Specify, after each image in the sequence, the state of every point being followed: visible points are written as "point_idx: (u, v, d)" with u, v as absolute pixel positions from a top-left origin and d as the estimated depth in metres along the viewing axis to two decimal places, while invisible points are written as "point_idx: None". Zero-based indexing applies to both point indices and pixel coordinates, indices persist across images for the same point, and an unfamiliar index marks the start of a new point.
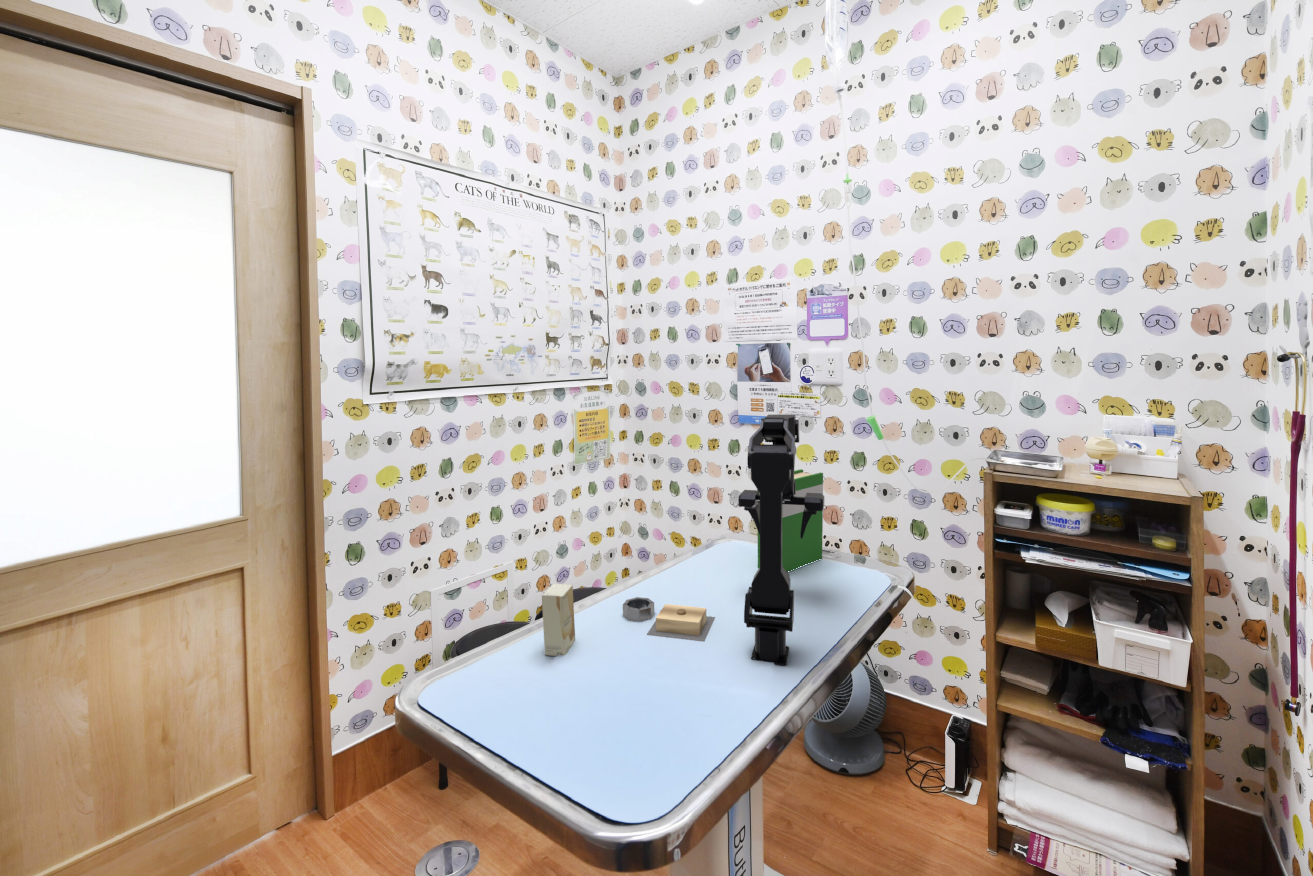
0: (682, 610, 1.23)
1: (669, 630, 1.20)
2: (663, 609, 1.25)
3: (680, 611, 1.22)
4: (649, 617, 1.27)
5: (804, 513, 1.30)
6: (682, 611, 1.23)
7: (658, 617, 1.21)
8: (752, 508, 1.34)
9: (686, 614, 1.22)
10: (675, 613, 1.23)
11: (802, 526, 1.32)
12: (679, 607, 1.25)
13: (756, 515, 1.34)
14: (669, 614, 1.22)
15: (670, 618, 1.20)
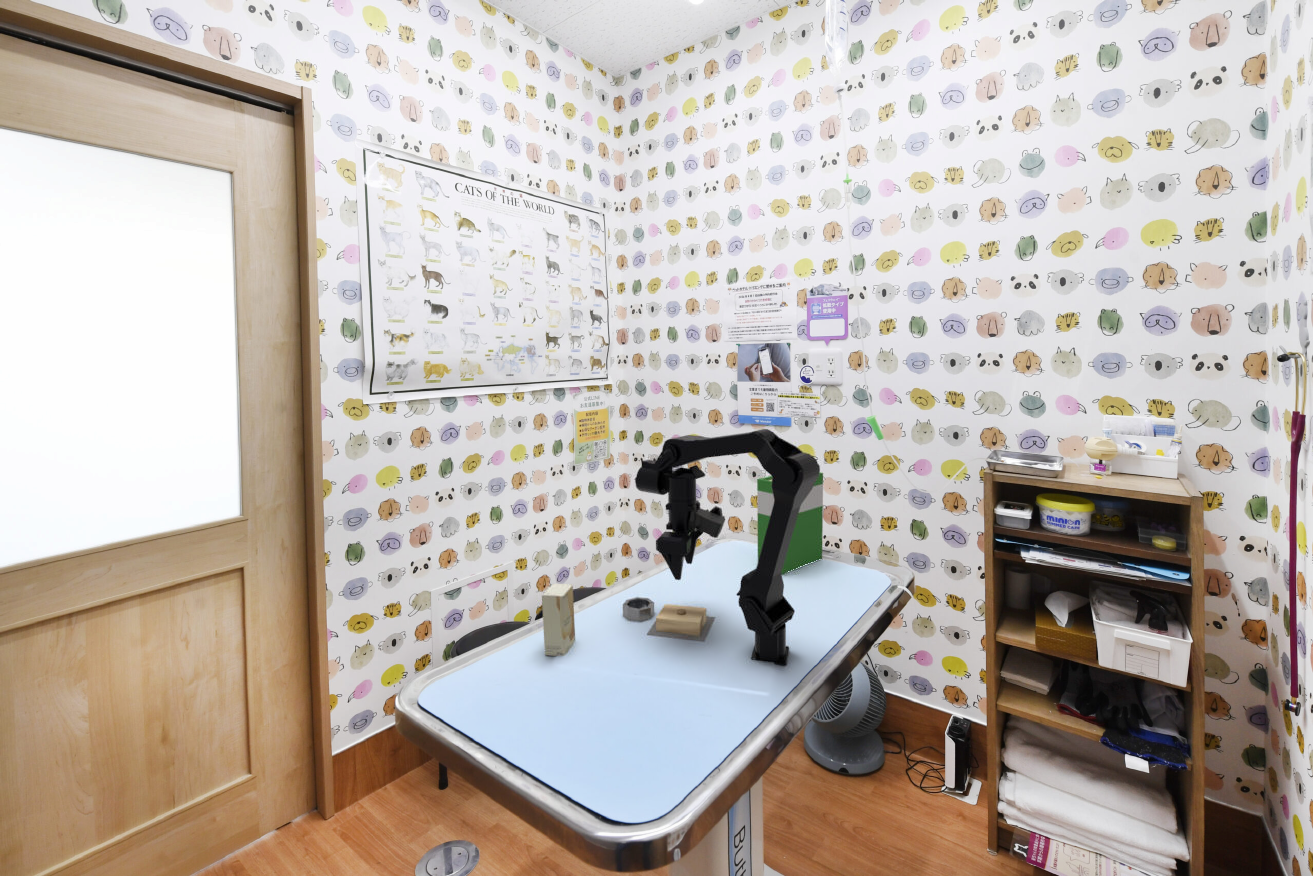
0: (682, 610, 1.23)
1: (669, 630, 1.20)
2: (663, 609, 1.25)
3: (680, 611, 1.22)
4: (649, 617, 1.27)
5: None
6: (682, 611, 1.23)
7: (658, 617, 1.21)
8: None
9: (686, 614, 1.22)
10: (675, 613, 1.23)
11: None
12: (679, 607, 1.25)
13: None
14: (669, 614, 1.22)
15: (670, 618, 1.20)
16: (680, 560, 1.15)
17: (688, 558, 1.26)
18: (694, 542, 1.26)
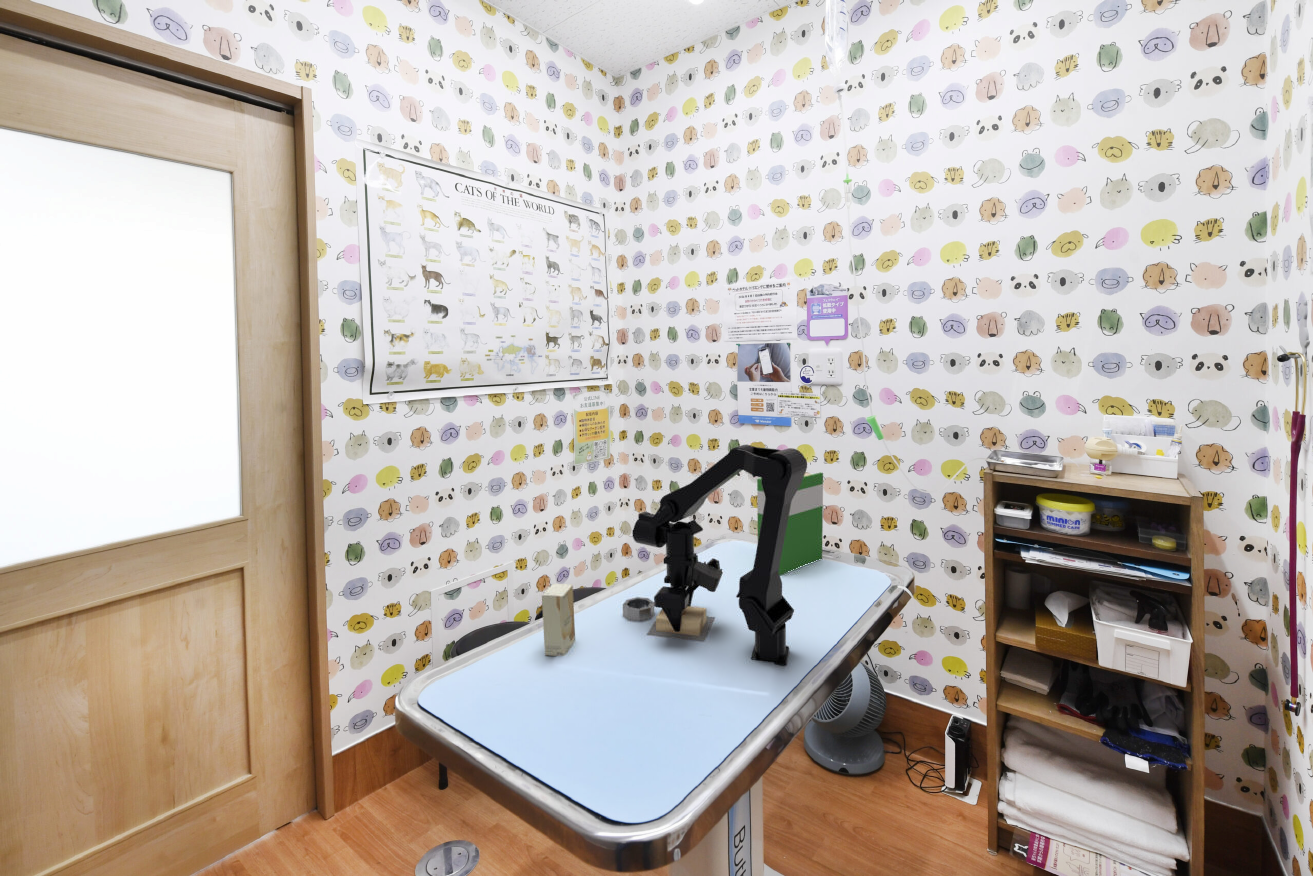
0: None
1: (669, 630, 1.20)
2: None
3: None
4: (649, 617, 1.27)
5: None
6: None
7: (658, 617, 1.21)
8: None
9: (686, 614, 1.22)
10: None
11: None
12: None
13: None
14: None
15: None
16: (679, 613, 1.17)
17: None
18: (691, 594, 1.26)
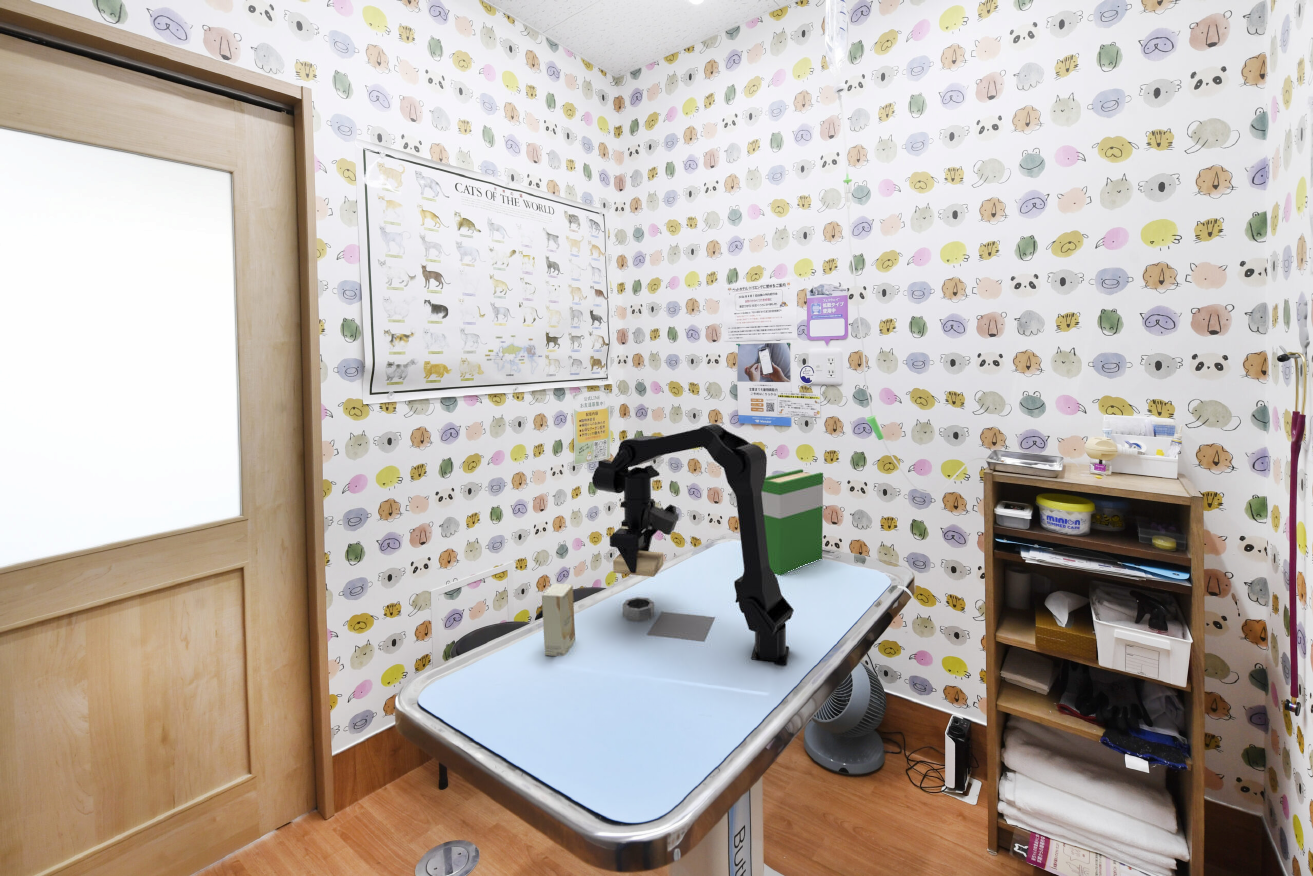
0: (639, 553, 1.27)
1: (625, 572, 1.24)
2: None
3: None
4: (649, 617, 1.27)
5: None
6: (639, 554, 1.27)
7: (615, 559, 1.25)
8: None
9: (643, 557, 1.26)
10: None
11: None
12: None
13: None
14: None
15: None
16: (635, 554, 1.21)
17: None
18: (649, 540, 1.30)
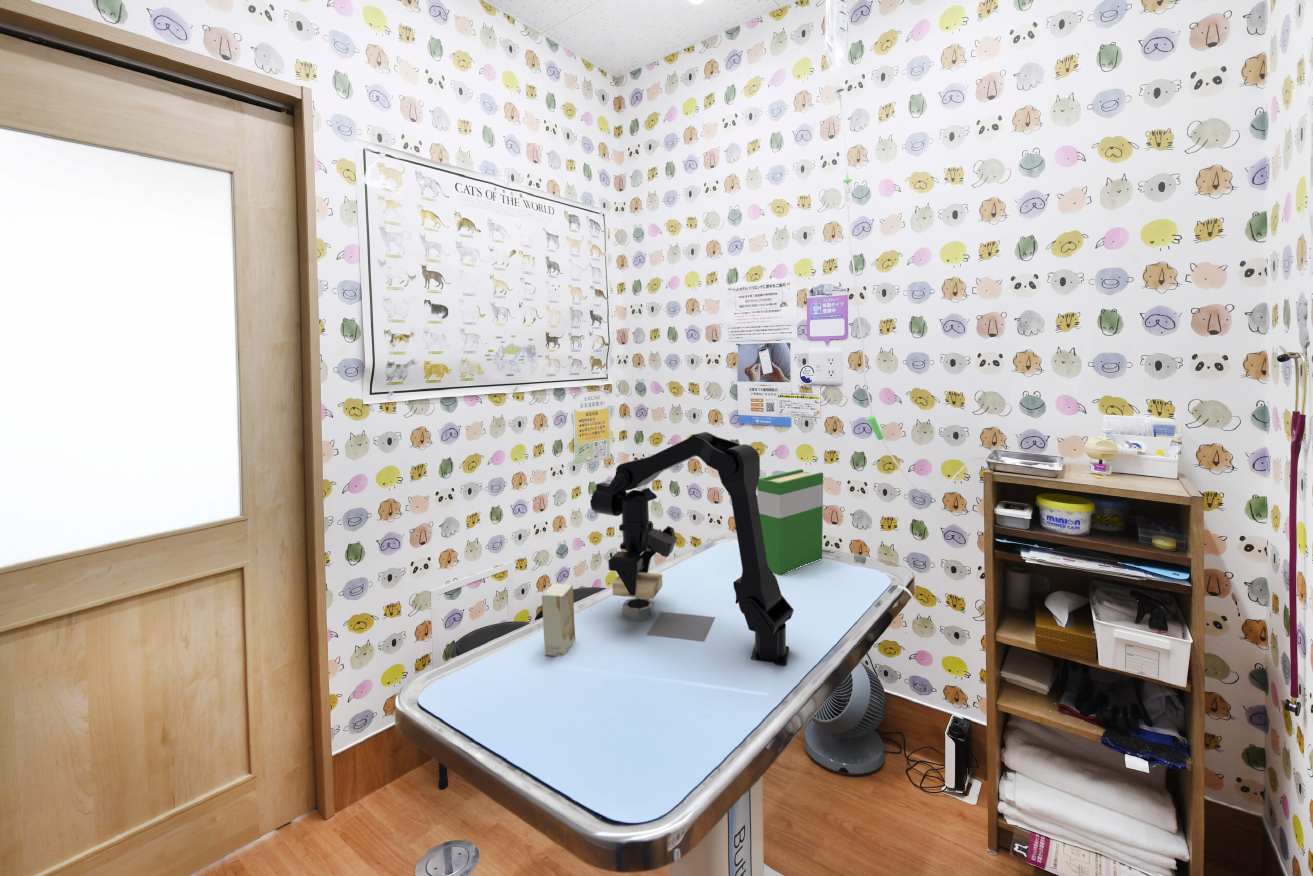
0: (638, 575, 1.28)
1: (625, 594, 1.25)
2: None
3: None
4: (649, 617, 1.27)
5: None
6: (638, 576, 1.28)
7: (614, 582, 1.26)
8: None
9: (642, 579, 1.27)
10: None
11: None
12: None
13: None
14: None
15: None
16: (634, 577, 1.22)
17: None
18: (648, 561, 1.31)
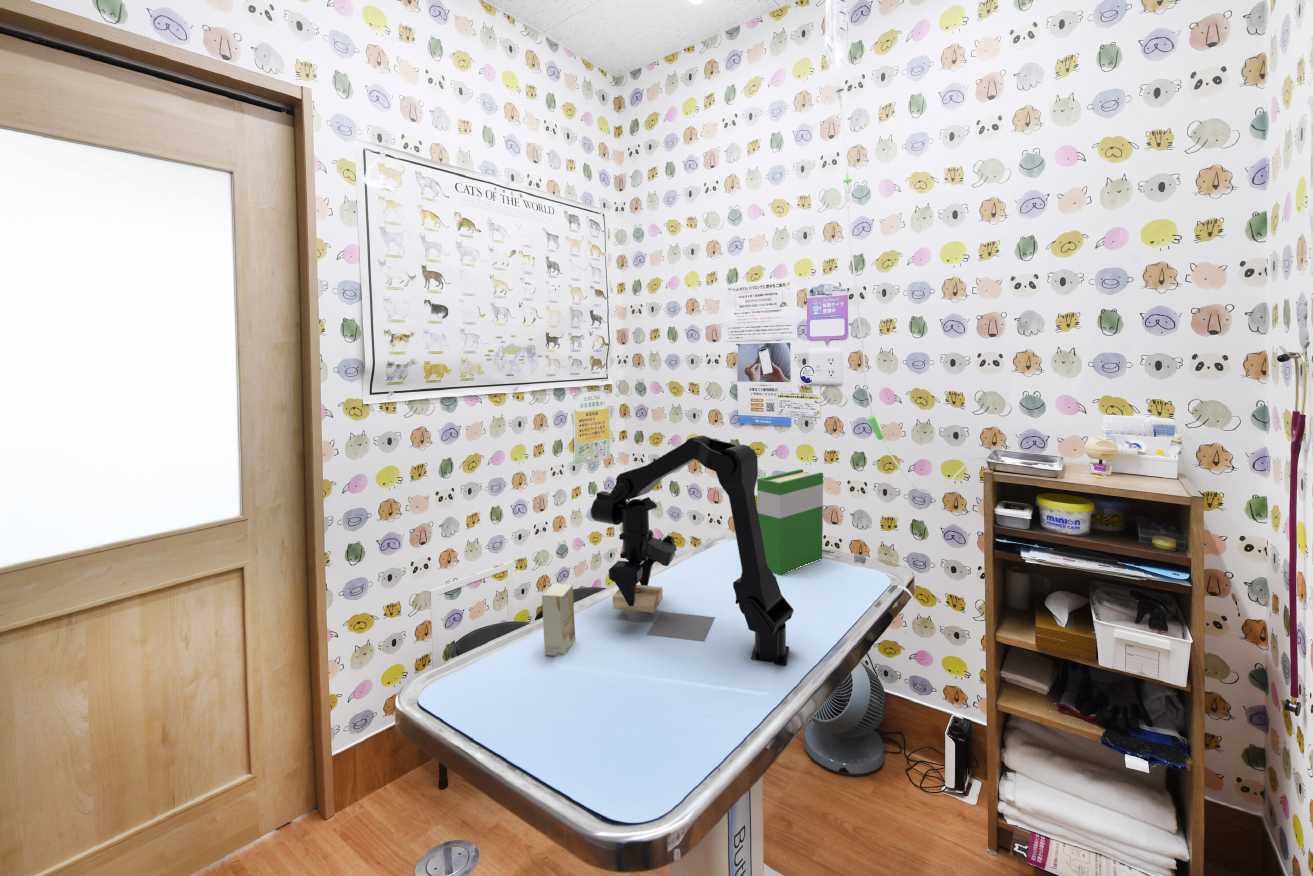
0: (638, 589, 1.28)
1: (625, 607, 1.26)
2: None
3: (637, 589, 1.28)
4: (649, 617, 1.27)
5: None
6: (638, 589, 1.28)
7: (615, 595, 1.26)
8: None
9: (642, 592, 1.27)
10: None
11: None
12: (636, 586, 1.31)
13: None
14: None
15: None
16: (632, 588, 1.22)
17: (644, 584, 1.32)
18: (649, 569, 1.32)
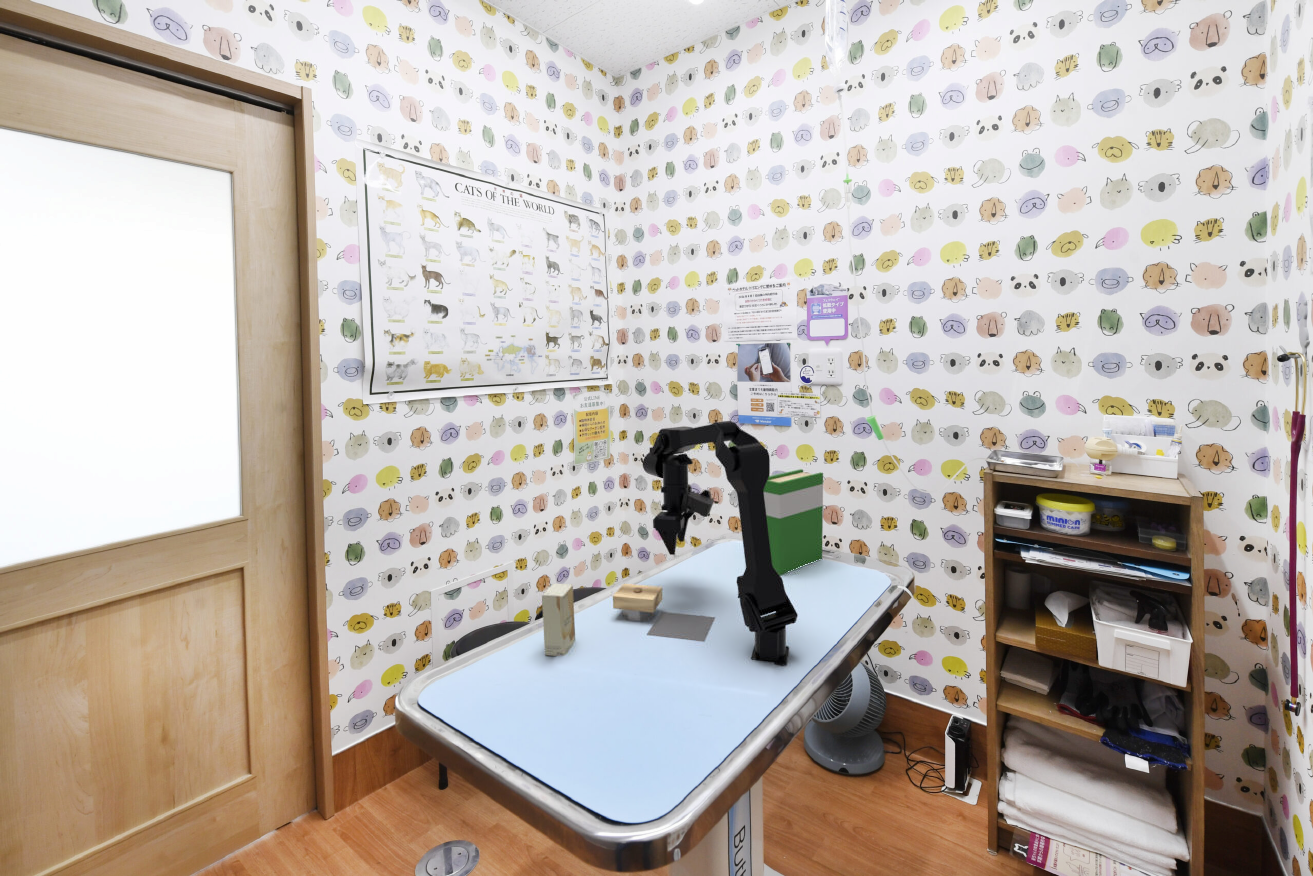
0: (638, 589, 1.28)
1: (625, 607, 1.26)
2: (621, 588, 1.30)
3: (637, 589, 1.28)
4: (649, 617, 1.27)
5: None
6: (638, 589, 1.28)
7: (615, 595, 1.26)
8: None
9: (642, 592, 1.27)
10: (632, 591, 1.28)
11: None
12: (636, 586, 1.31)
13: None
14: (625, 592, 1.28)
15: (626, 596, 1.26)
16: (674, 537, 1.30)
17: (681, 537, 1.41)
18: (686, 522, 1.40)
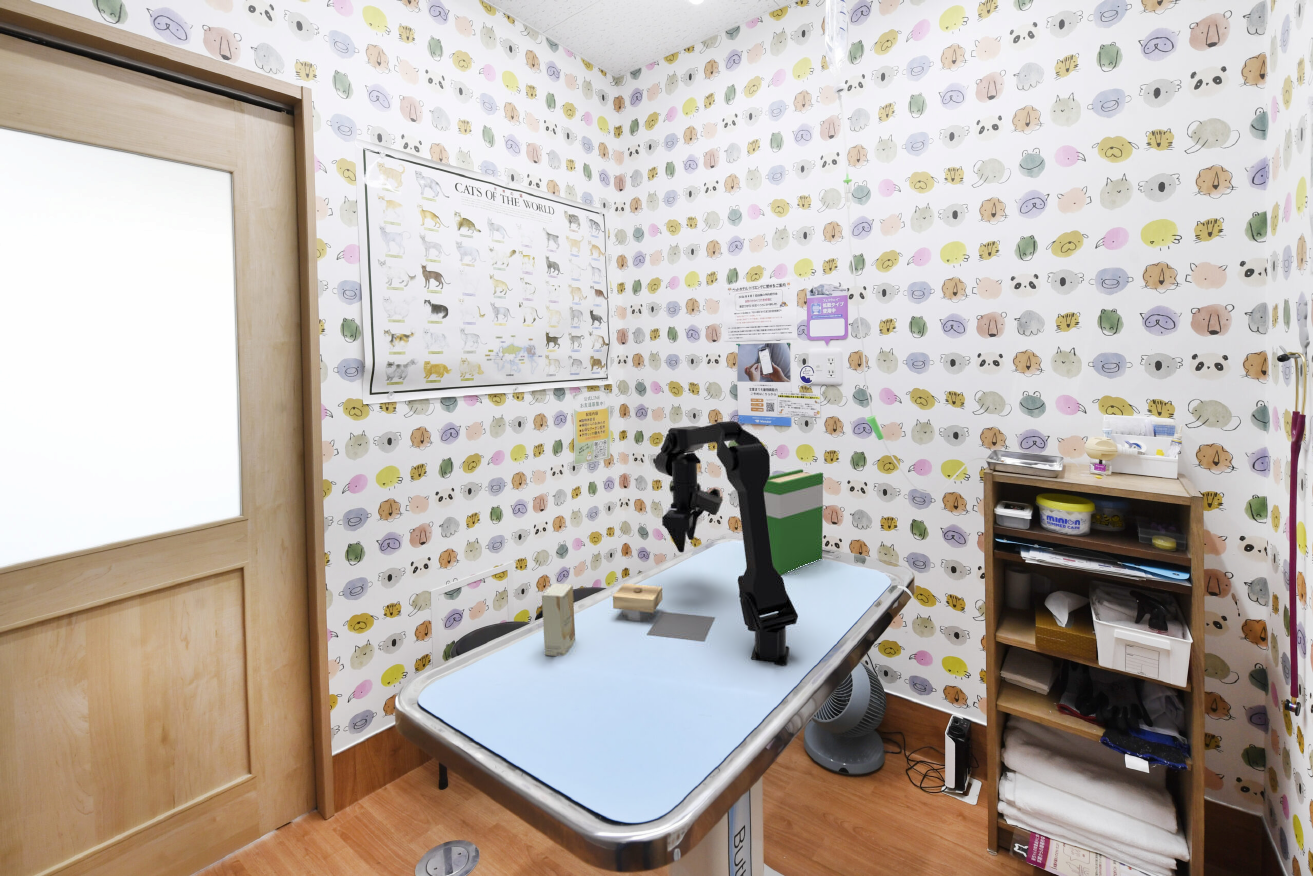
0: (638, 589, 1.28)
1: (625, 607, 1.26)
2: (621, 588, 1.30)
3: (637, 589, 1.28)
4: (649, 617, 1.27)
5: None
6: (638, 589, 1.28)
7: (615, 595, 1.26)
8: None
9: (642, 592, 1.27)
10: (632, 591, 1.28)
11: None
12: (636, 586, 1.31)
13: None
14: (625, 592, 1.28)
15: (626, 596, 1.26)
16: (683, 534, 1.32)
17: (690, 535, 1.42)
18: (695, 520, 1.42)
